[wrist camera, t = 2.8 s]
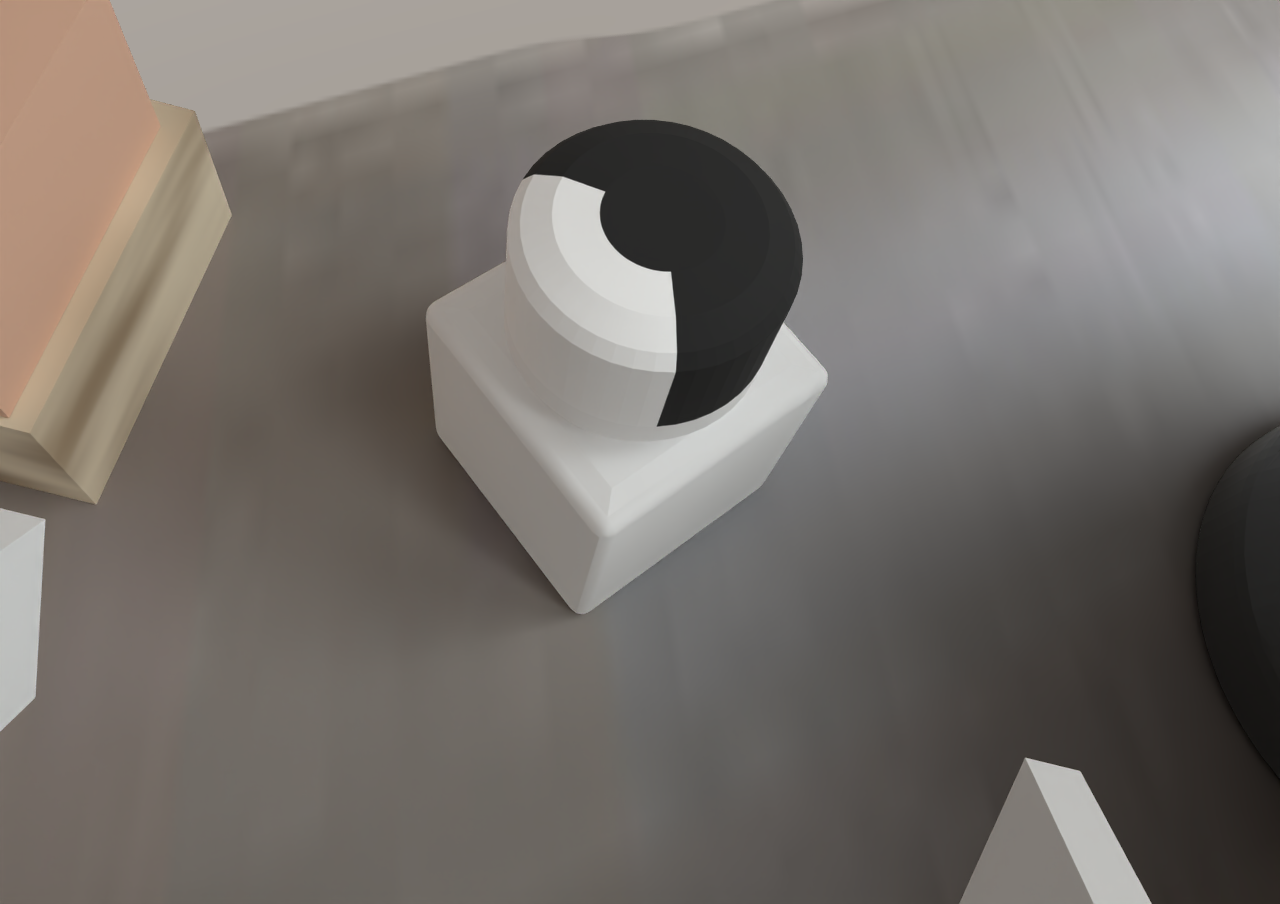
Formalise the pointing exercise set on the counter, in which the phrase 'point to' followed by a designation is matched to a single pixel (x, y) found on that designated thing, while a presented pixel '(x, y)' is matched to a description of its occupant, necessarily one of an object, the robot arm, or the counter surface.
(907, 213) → the counter surface
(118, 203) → the top block
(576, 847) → the counter surface
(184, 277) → the bottom block
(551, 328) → the medicine bottle
